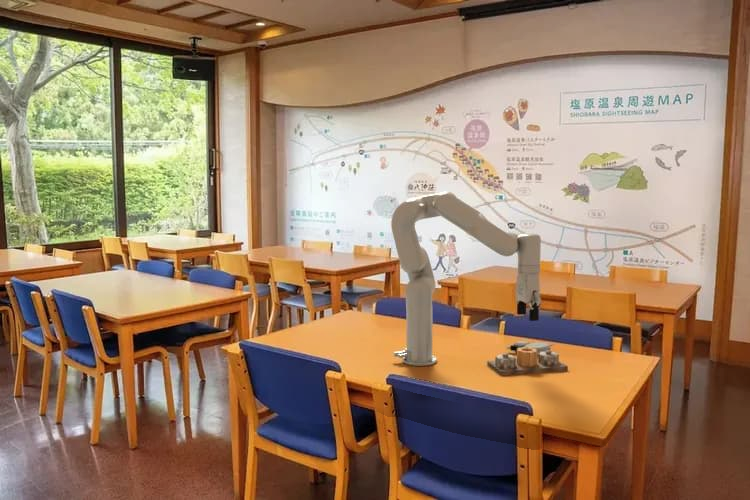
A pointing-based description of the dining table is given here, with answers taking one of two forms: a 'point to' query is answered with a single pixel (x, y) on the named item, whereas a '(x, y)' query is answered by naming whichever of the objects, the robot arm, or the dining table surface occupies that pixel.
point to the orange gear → (527, 356)
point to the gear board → (510, 367)
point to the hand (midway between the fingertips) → (527, 317)
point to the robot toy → (538, 346)
